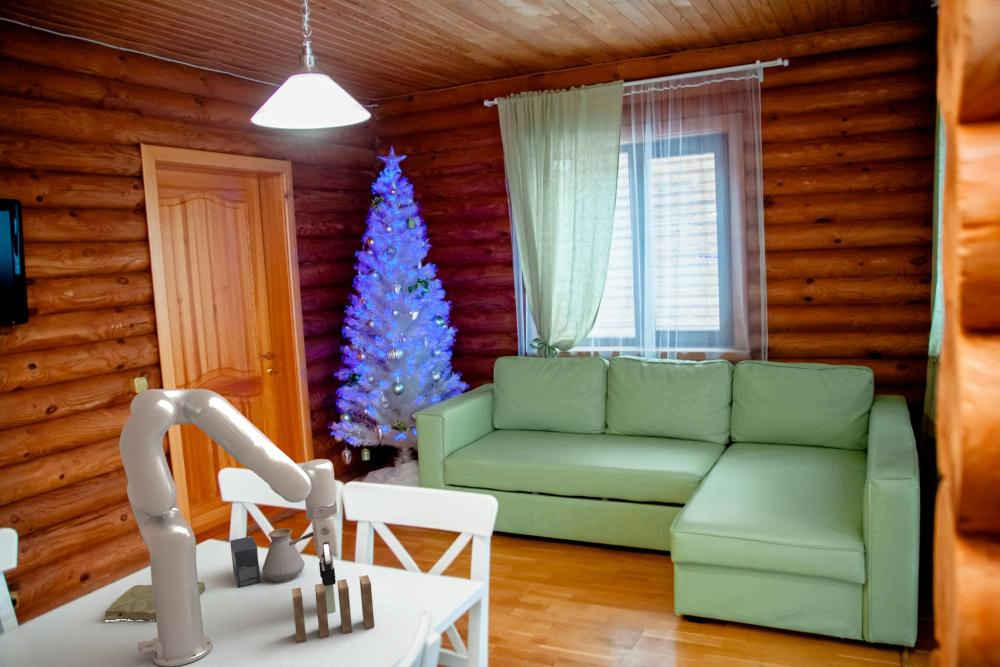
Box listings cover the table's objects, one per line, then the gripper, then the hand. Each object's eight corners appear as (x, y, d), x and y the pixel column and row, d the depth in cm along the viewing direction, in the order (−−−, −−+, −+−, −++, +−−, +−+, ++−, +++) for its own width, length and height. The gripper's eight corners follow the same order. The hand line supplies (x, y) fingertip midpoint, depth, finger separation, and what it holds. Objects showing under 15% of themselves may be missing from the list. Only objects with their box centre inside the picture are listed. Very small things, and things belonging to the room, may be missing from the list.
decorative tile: (133, 595, 218) (131, 583, 218) (206, 590, 218) (205, 578, 218) (99, 627, 199) (97, 613, 199) (179, 622, 199) (177, 608, 199)
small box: (232, 575, 226) (228, 539, 225) (256, 570, 229) (252, 535, 228) (237, 588, 217) (233, 551, 216) (261, 583, 220) (258, 546, 218)
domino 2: (320, 638, 185) (316, 592, 183) (318, 629, 189) (314, 584, 188) (329, 636, 185) (325, 591, 184) (327, 627, 190) (323, 583, 189)
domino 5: (366, 629, 188) (362, 584, 187) (363, 620, 192) (359, 576, 191) (374, 627, 188) (370, 582, 187) (371, 618, 193) (367, 575, 192)
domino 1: (297, 643, 183) (293, 597, 182) (296, 633, 188) (291, 588, 187) (306, 641, 184) (302, 595, 182) (304, 632, 188) (300, 587, 187)
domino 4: (343, 633, 186) (339, 588, 185) (341, 624, 191) (337, 580, 190) (352, 632, 187) (348, 587, 186) (349, 623, 191) (345, 579, 190)
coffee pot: (254, 583, 219) (249, 530, 218) (278, 567, 230) (273, 516, 229) (322, 589, 213) (317, 534, 211) (344, 572, 223) (339, 520, 222)
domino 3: (327, 613, 198) (323, 570, 197) (325, 605, 202) (321, 563, 201) (335, 611, 198) (331, 568, 197) (333, 603, 203) (329, 561, 202)
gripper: (340, 517, 191) (347, 590, 193) (333, 498, 207) (339, 565, 209) (308, 522, 189) (315, 596, 190) (303, 502, 205) (310, 571, 207)
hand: (327, 579), depth 200 cm, fingers closed on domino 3, 4 cm apart
